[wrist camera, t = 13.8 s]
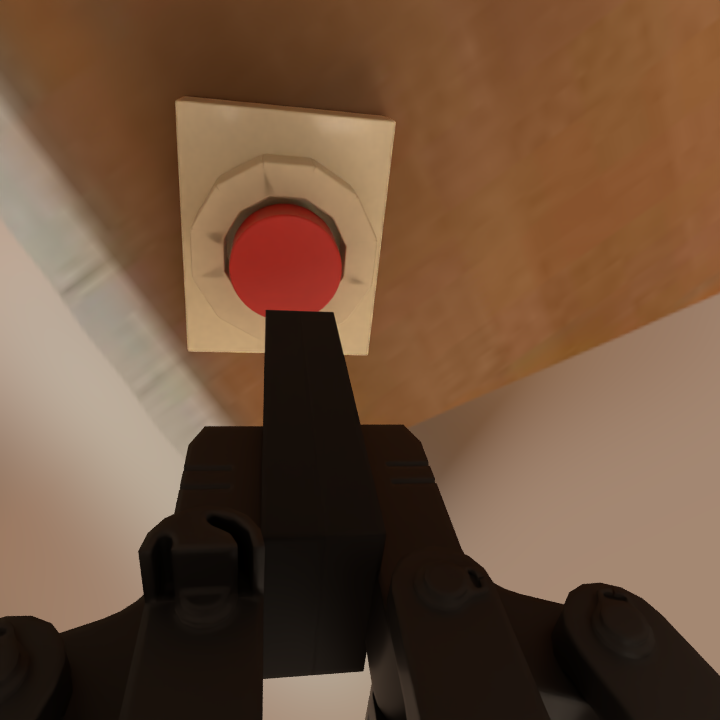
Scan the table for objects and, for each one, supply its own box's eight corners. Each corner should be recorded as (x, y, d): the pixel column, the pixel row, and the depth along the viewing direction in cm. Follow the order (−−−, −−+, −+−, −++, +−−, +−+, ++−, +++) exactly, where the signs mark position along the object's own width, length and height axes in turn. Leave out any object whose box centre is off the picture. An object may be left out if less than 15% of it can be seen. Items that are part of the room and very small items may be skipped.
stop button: (231, 198, 20) (228, 210, 18) (341, 206, 21) (346, 218, 19) (231, 302, 22) (229, 320, 20) (332, 305, 23) (337, 324, 21)
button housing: (182, 95, 21) (166, 103, 18) (385, 115, 23) (406, 126, 19) (193, 330, 26) (181, 372, 23) (361, 335, 27) (374, 375, 24)
